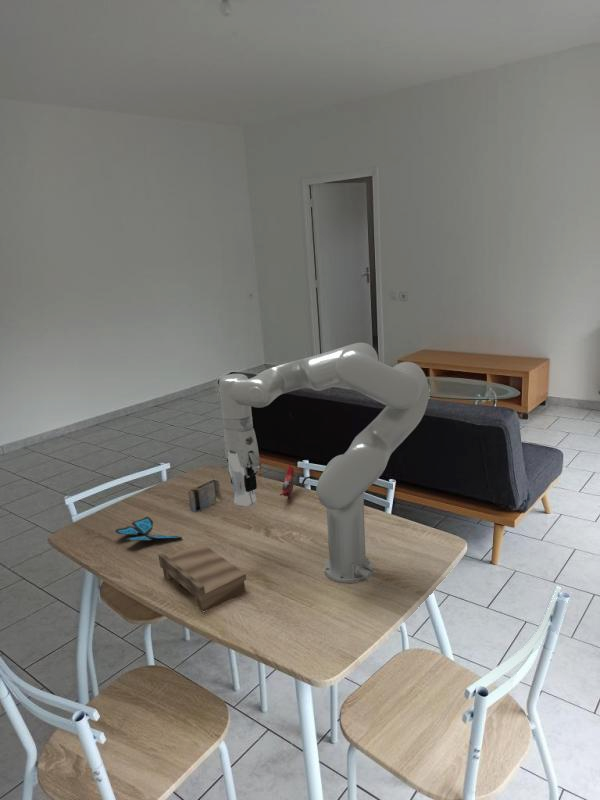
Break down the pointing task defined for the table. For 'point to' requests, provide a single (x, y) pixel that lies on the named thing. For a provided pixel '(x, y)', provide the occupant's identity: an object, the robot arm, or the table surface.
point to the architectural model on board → (204, 495)
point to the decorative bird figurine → (288, 483)
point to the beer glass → (240, 482)
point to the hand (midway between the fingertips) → (243, 485)
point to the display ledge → (204, 575)
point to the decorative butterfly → (141, 530)
